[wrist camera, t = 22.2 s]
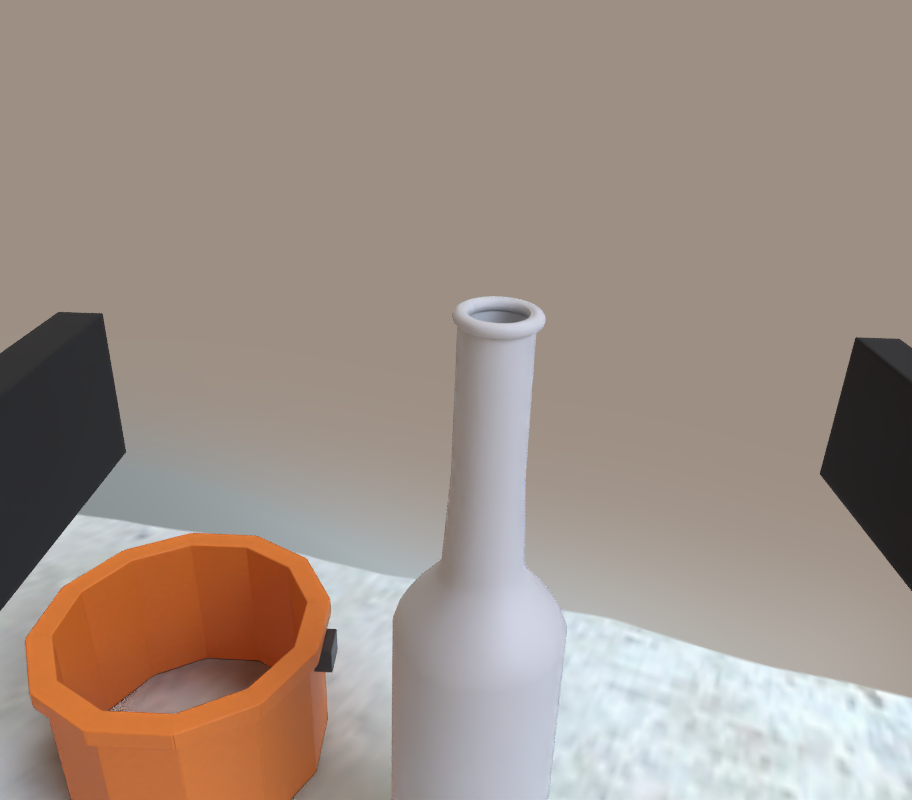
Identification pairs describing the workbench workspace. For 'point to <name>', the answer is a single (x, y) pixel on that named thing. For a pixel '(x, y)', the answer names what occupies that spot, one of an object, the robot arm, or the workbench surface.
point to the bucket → (177, 644)
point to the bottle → (481, 594)
